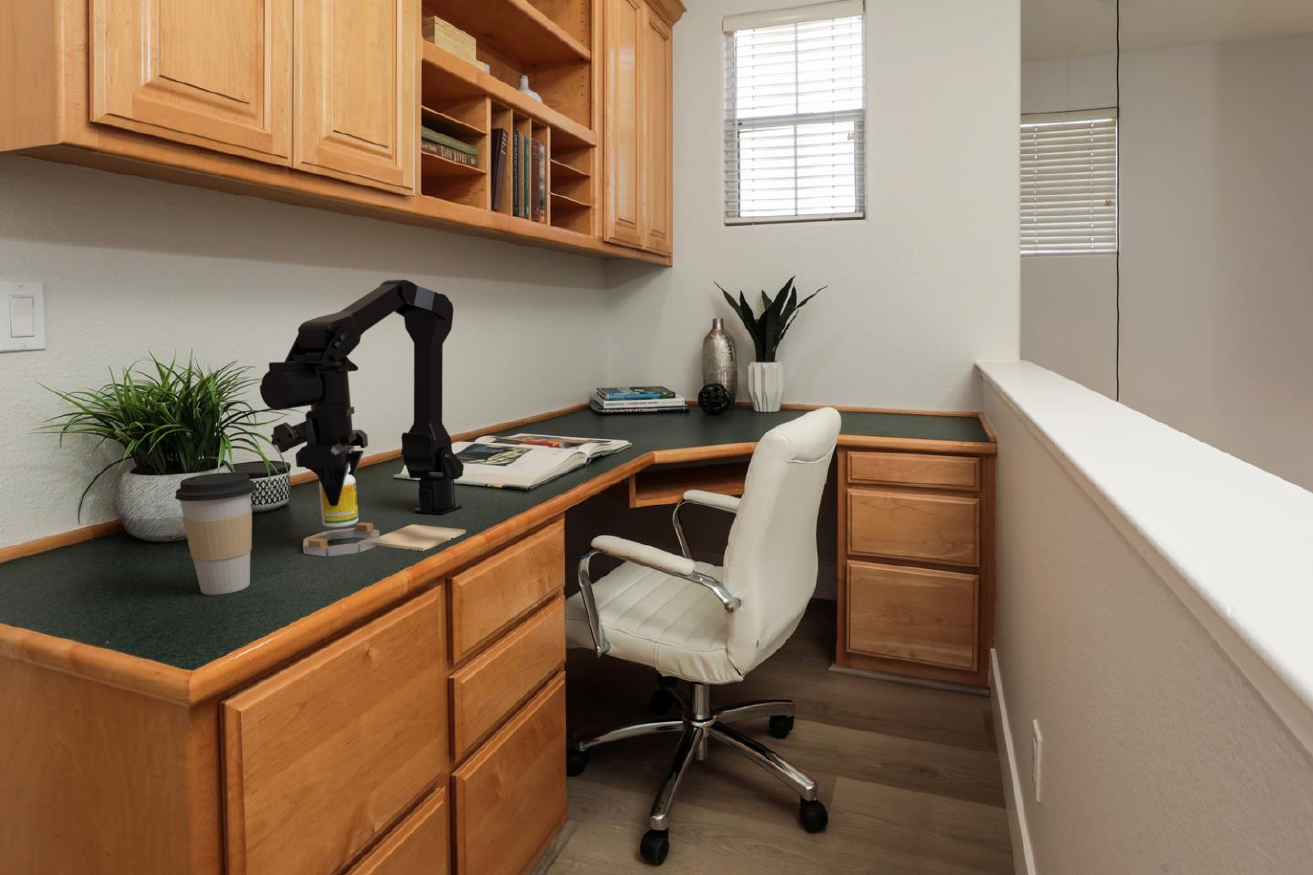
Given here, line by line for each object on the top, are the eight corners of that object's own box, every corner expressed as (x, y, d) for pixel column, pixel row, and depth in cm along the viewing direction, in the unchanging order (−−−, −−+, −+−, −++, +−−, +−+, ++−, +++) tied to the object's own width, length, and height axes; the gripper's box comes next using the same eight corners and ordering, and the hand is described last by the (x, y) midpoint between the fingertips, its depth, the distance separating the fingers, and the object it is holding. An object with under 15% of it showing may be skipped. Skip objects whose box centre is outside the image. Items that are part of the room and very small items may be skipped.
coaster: (412, 527, 135) (412, 524, 135) (466, 532, 131) (466, 529, 131) (366, 544, 125) (366, 541, 125) (423, 551, 121) (422, 547, 121)
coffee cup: (177, 588, 106) (164, 478, 104) (252, 571, 113) (241, 468, 111) (197, 605, 100) (184, 489, 97) (275, 586, 106) (265, 477, 104)
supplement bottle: (317, 523, 125) (312, 463, 124) (351, 517, 129) (346, 459, 127) (329, 530, 121) (324, 468, 120) (364, 523, 125) (359, 463, 123)
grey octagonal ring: (341, 532, 133) (340, 520, 132) (395, 538, 128) (394, 525, 128) (287, 551, 122) (286, 537, 122) (343, 558, 118) (342, 544, 118)
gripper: (294, 398, 130) (303, 491, 132) (253, 411, 112) (263, 519, 114) (365, 396, 131) (372, 487, 134) (335, 408, 113) (344, 514, 116)
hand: (338, 501), depth 124 cm, fingers closed on supplement bottle, 5 cm apart
